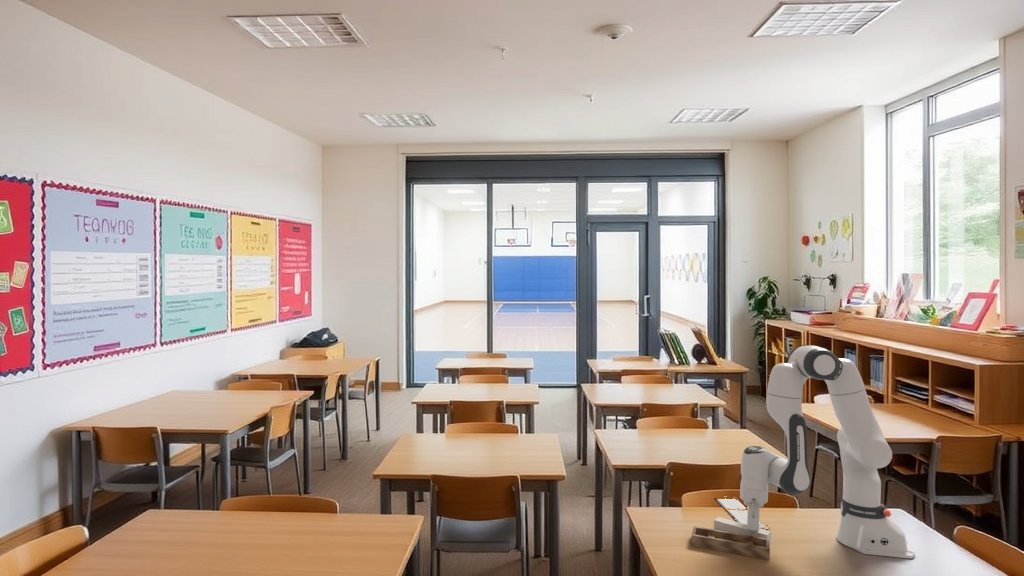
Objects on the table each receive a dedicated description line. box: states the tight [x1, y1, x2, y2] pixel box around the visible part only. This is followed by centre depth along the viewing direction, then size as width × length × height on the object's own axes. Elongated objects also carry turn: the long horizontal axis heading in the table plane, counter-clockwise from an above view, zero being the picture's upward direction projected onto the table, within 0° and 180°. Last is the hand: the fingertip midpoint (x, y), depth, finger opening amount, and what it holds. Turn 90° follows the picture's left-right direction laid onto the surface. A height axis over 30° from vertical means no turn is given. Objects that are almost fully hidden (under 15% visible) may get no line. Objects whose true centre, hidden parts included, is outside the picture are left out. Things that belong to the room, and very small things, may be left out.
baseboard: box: [716, 497, 769, 529], centre depth 226 cm, size 30×3×10 cm
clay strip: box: [713, 516, 772, 543], centre depth 205 cm, size 18×4×4 cm, turn 50°
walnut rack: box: [690, 525, 771, 561], centre depth 196 cm, size 24×8×4 cm, turn 68°
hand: (752, 534), depth 203 cm, fingers open, 5 cm apart
